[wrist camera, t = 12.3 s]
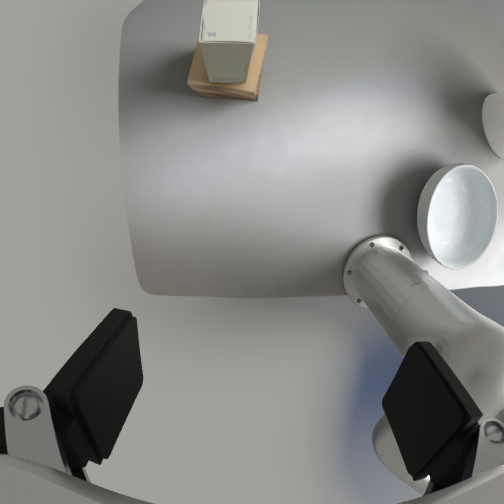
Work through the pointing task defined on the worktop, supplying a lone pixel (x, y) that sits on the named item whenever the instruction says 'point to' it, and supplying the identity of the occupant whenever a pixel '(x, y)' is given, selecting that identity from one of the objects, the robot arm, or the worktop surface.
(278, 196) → the worktop surface
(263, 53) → the oak top block
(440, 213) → the cereal bowl
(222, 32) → the skincare box
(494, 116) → the canister
